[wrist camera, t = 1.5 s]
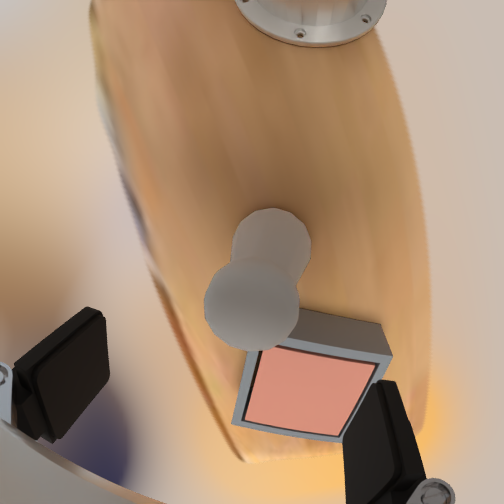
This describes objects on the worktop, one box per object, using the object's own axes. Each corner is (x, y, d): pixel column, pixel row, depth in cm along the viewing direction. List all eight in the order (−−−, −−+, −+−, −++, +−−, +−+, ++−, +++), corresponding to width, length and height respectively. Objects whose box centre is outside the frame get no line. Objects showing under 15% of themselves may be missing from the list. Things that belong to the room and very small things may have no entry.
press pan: (265, 337, 23) (264, 345, 22) (373, 358, 23) (375, 365, 22) (246, 412, 26) (244, 419, 25) (337, 428, 25) (337, 435, 24)
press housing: (261, 299, 27) (252, 329, 22) (380, 324, 26) (393, 356, 21) (240, 390, 30) (231, 424, 26) (341, 408, 29) (344, 443, 25)
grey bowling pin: (325, 236, 24) (347, 317, 12) (278, 286, 26) (257, 392, 14) (269, 187, 24) (236, 222, 12) (224, 241, 26) (158, 317, 14)
